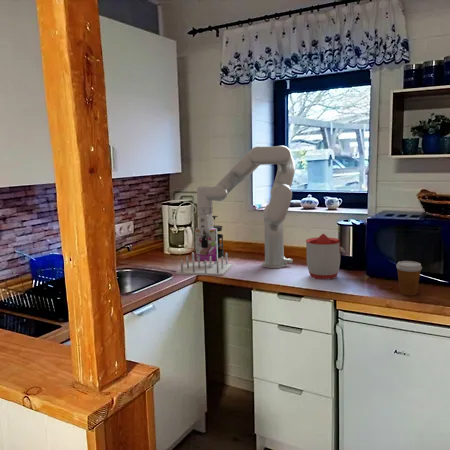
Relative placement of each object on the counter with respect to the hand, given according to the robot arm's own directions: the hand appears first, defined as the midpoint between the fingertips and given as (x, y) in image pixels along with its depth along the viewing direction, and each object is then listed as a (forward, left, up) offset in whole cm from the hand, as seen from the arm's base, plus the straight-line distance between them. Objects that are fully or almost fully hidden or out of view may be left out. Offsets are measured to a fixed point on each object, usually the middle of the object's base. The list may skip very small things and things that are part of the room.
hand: (206, 246), depth 231 cm
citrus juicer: (-59, +9, -11) cm, 61 cm away
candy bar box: (0, 0, -8) cm, 8 cm away
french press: (+3, -26, -11) cm, 28 cm away
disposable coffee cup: (-92, +29, -11) cm, 97 cm away
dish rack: (0, +4, -11) cm, 12 cm away
